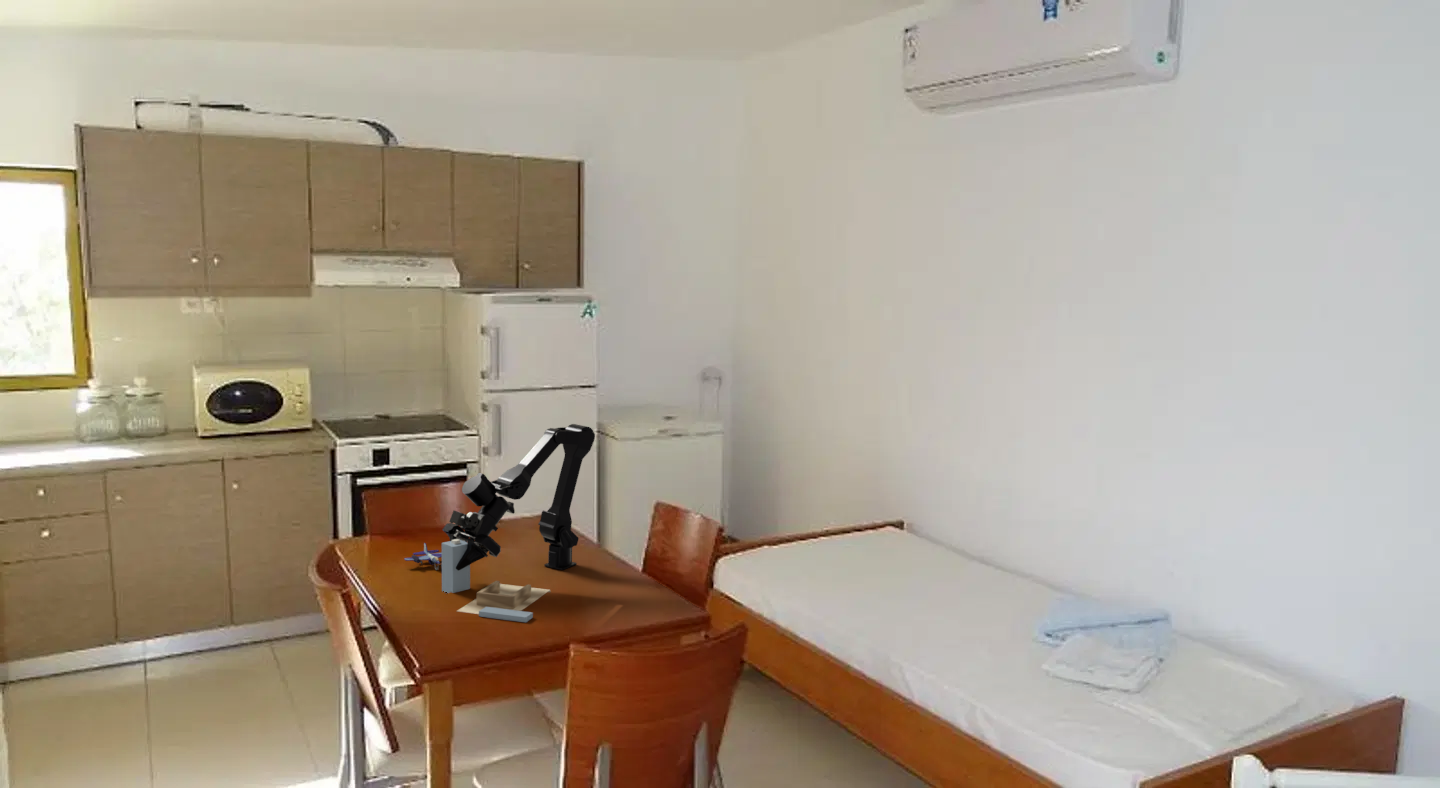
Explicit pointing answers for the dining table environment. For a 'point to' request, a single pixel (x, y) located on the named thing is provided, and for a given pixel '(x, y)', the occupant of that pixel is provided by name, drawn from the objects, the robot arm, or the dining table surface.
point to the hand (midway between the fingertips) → (451, 567)
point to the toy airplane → (426, 556)
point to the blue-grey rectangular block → (454, 567)
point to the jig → (504, 597)
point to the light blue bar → (505, 614)
